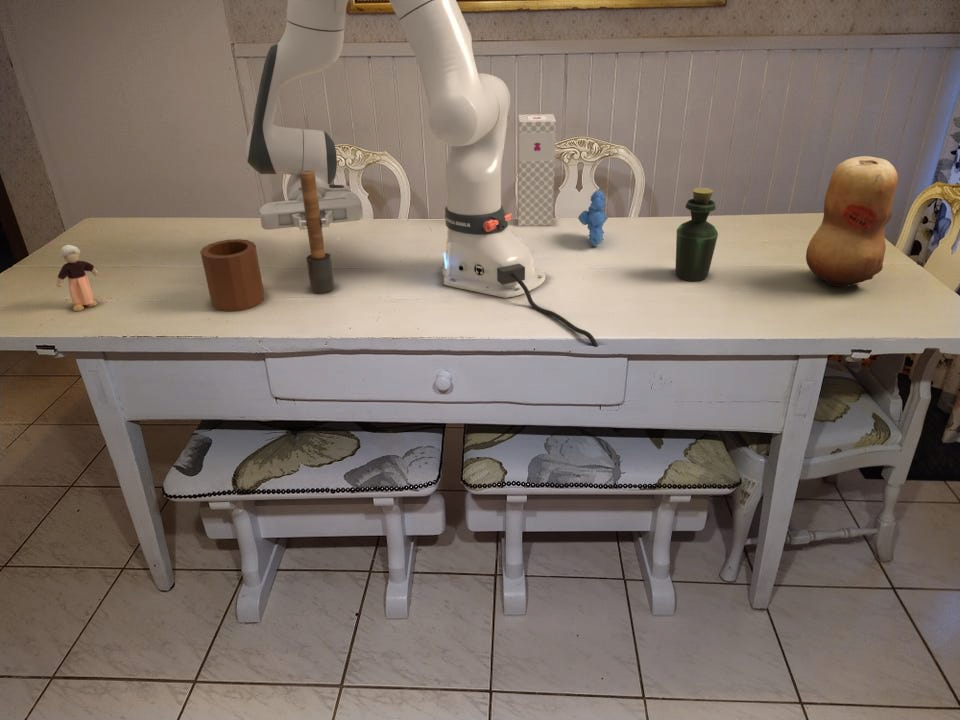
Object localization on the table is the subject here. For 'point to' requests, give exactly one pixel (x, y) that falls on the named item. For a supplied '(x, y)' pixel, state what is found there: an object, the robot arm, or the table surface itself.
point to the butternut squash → (854, 222)
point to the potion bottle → (696, 238)
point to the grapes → (595, 218)
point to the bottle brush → (315, 238)
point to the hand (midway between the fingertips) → (314, 224)
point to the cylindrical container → (233, 274)
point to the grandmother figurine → (77, 277)
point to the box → (536, 169)
